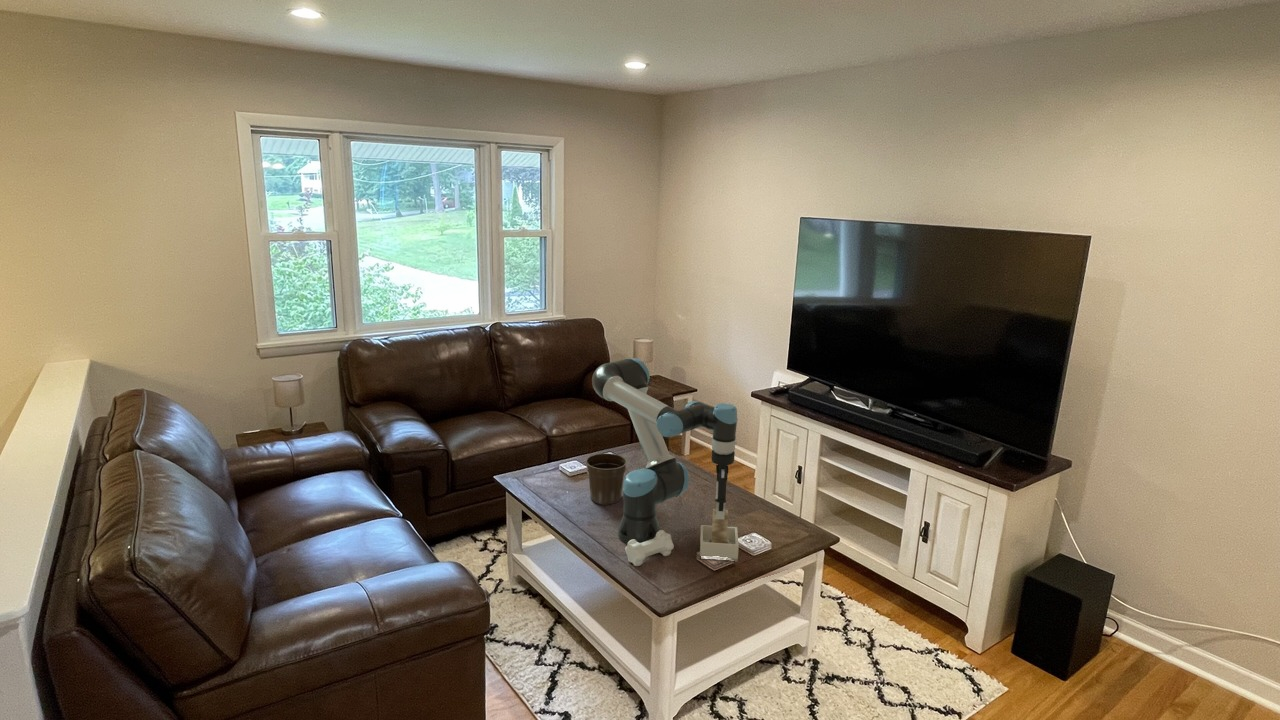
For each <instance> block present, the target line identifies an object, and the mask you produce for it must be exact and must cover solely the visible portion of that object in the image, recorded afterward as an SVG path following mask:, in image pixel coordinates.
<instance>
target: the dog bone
mask: <svg viewBox="0 0 1280 720" xmlns="http://www.w3.org/2000/svg"><path fill="white" fill-rule="evenodd" d="M674 547H675V544H674V543H673V539H672V535H671V533H667V532H666V531H665V530H664V529H660V530H659V531H658V532H657V533H656V536H655V538H654V539H651V540H648V541H645V542H642V543H639V542H637V541H636V540H635V539H632V540H630V541H629V542H628V544H627V545H626V546H625V547H624V551H625V553H626V556H627V561H628V562H629V563H632V564H633V566H634V567H639V566H641V565H643V563H644V560H645V559H646V558H647V557H650V556H652V555H655V554H658V553H659V554H662V556H663V557H668V556H670V554H671V553H672V550H674Z"/></svg>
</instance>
